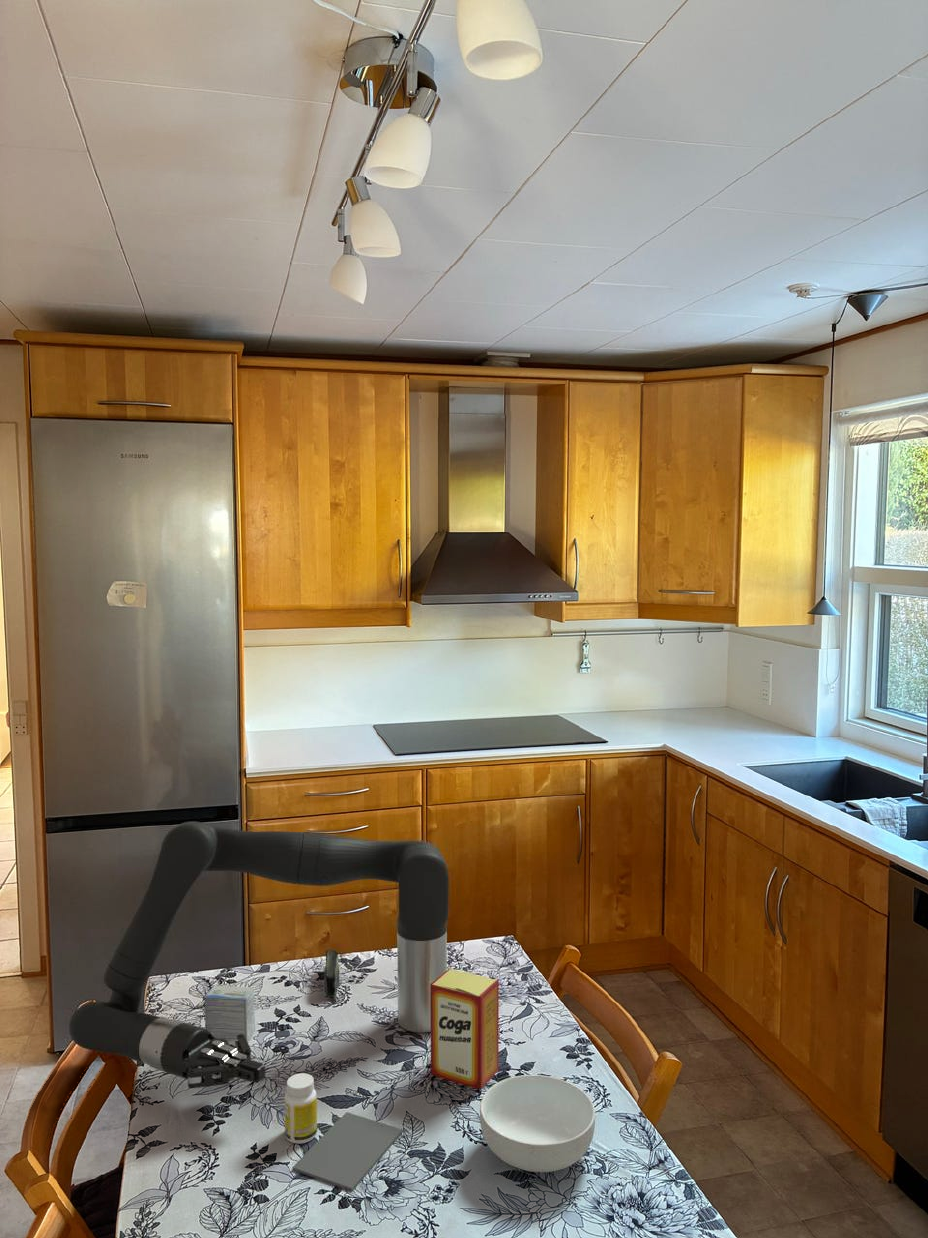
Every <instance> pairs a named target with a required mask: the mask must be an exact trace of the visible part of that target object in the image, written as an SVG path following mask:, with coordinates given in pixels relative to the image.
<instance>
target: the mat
mask: <svg viewBox="0 0 928 1238" xmlns="http://www.w3.org/2000/svg"><path fill="white" fill-rule="evenodd" d="M403 1130H404V1129H403V1128H400V1127H399V1128H398V1127H395V1126H393V1125H389V1124H386V1123H383V1122H380V1121H377V1120H373V1119H371V1118H367V1117H364V1116H361V1115H357V1114H354V1113H350V1112H349V1111H347V1112H345V1113H344V1114H343V1115H342V1116H341V1117H340V1118H339V1119H338V1120H337V1121H336V1122H335V1123H334V1124H333V1125H332V1126H331V1127H330V1128H329V1129H328V1131H326V1132H325V1133H324V1135H322V1137H320V1139H319V1140H318V1141H317V1142H316V1143H315V1144H314V1145H312V1146H311V1148H310V1149H309V1150H308V1151H307V1152H306V1153H305V1154H304V1155H303V1156H302V1157H301V1158H299V1160H298V1161H297V1162H295V1164H294V1165H293V1166H292V1168H291V1169H292V1170H293V1171H294V1172H297V1173H300V1174H303V1175H306V1176H309V1177H311V1178H314V1179H317V1180H319V1181H322V1182H325V1183H329V1184H330V1185H333V1186H336V1187H338V1188H339V1187H340V1188H343V1189H345V1190H348V1191H350V1192H353V1191H354V1190H355V1189H356V1187H358V1186H359V1184H360V1183H361V1182H362V1181H363V1180H364V1178H365V1177H366V1176H367V1175H368V1174H369V1172H370V1171H372V1169H373V1168H374V1166H376V1164H377V1162H379V1160H381V1158H382V1157H383V1156H384V1155H385V1154H386V1152H387V1151H388V1150H389V1149H390V1148H391V1146H393V1144H394V1143H395V1142H396V1141H397V1140H398V1138H399V1137H400V1136H401V1135H402V1133H403V1132H404V1131H403Z"/></svg>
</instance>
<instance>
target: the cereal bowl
mask: <svg viewBox="0 0 928 1238" xmlns="http://www.w3.org/2000/svg"><path fill="white" fill-rule="evenodd" d="M479 1107H480V1108H479V1120H480V1121H479V1122H480V1128H481V1133H482V1136H483V1139H484V1141H485V1142H486V1144H487V1146H488V1147H489V1148H490V1150H491V1151H492V1152H493V1154H495V1155H496V1156H497V1158H499V1159H500V1160H502V1161H503V1162H505V1164H508V1165H510V1166H512V1167H514V1168H517V1169H519V1170H523V1171H526V1172H531V1173H532V1172H534V1173H551V1172H557V1171H560V1170H564V1169H566V1168H568V1167H570V1166H572V1165H574V1164H575V1163H576V1162H578V1161H579V1160H580V1159H582V1157H583V1156H584V1155H585V1154H586V1152H587V1151H588V1149H590V1146H591V1143H592V1141H593V1138H594V1134H595V1127H596V1125H595V1124H596V1109H595V1106H594V1102H593V1101H592V1099H591V1098H590V1097H589V1095H588V1094H586V1092H585V1091H584V1090H582V1089H581V1088H580V1087H578V1086H576V1085H574V1084H573V1083H571V1082H570V1081H569V1082H568V1081H566V1080H565V1079H564V1080H563V1079H560V1078H557V1077H553V1076H548V1075H540V1074H523V1075H517V1076H511V1077H508V1078H505V1079H502V1080H500V1081H498V1082H496V1083H495V1084H494V1085H492V1086H491V1087H490V1088H488V1089H487V1090H486V1092H484V1095H483V1096H482V1098H481V1102H480V1106H479Z"/></svg>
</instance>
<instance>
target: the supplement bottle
mask: <svg viewBox="0 0 928 1238" xmlns="http://www.w3.org/2000/svg"><path fill="white" fill-rule="evenodd" d="M317 1100H318V1097H317V1091H316V1089H315V1081H314V1077H313V1076H312V1074H309V1073H304V1072H303V1073H297V1074H293V1075H292V1076H290V1077H288V1079H287V1081H286V1093H285V1094H284V1134H285V1135H284V1136H285V1138H286V1140H287V1141H289V1142H290V1143H293V1144H297V1145H298V1144H301V1145H302V1144H306V1143H308V1142H310V1141H312V1140H313V1139H315V1138H316V1136H317V1134H318V1133H317V1132H318V1112H317V1111H318V1107H317V1106H318V1101H317Z"/></svg>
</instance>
